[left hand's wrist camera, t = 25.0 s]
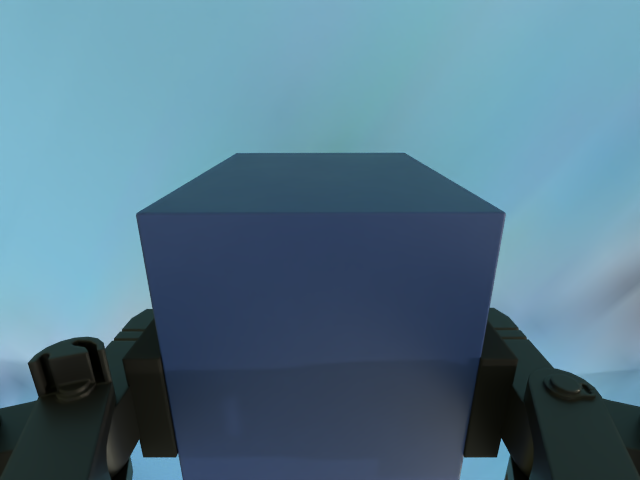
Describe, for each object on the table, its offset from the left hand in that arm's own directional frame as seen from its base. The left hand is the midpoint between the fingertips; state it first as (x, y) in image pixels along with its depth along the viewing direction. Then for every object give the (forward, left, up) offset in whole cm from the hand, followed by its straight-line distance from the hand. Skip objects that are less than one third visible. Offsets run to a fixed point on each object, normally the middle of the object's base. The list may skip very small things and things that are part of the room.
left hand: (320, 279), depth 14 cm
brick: (0, 0, -2) cm, 2 cm away
